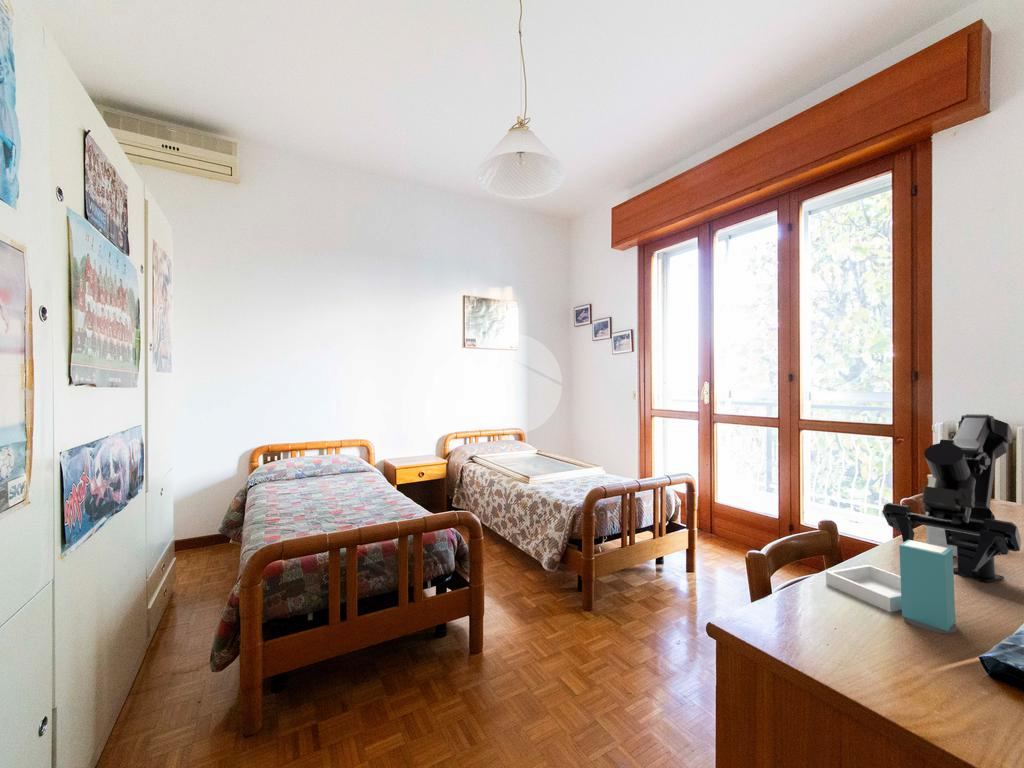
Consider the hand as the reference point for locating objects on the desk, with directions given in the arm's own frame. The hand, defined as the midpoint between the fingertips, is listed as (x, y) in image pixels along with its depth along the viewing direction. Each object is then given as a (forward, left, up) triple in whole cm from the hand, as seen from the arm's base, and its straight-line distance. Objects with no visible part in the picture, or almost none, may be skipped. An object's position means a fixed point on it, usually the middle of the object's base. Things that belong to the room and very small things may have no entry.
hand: (939, 562), depth 82 cm
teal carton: (+7, +2, -8) cm, 12 cm away
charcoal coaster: (+7, +2, -9) cm, 12 cm away
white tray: (+3, -9, -9) cm, 13 cm away
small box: (-39, -21, -10) cm, 45 cm away
